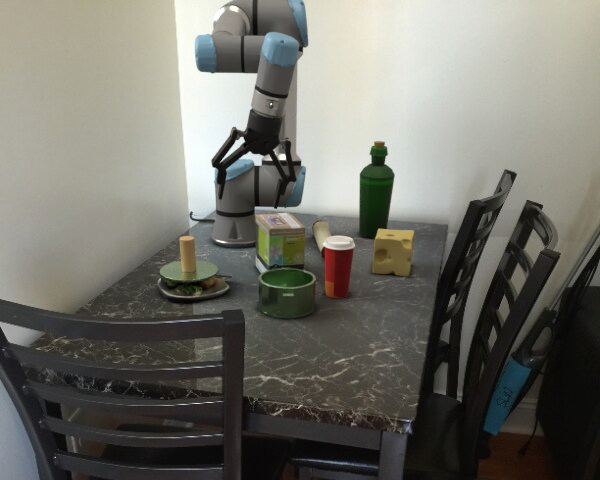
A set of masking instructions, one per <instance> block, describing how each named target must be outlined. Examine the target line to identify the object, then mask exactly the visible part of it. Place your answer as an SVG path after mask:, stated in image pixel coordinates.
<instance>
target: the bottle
mask: <svg viewBox="0 0 600 480" xmlns="http://www.w3.org/2000/svg"><path fill="white" fill-rule="evenodd" d="M373 144H374V145H371V147H370V151H369V156H371V158H370V159H371V163H369V164H367V165H365V166H364V167H363V168H362V170H361V171H360V172H359V202H358V203H359V204H358V205H359V206H358V207H359V208H358V212H359V213H358V216H359V217H358V223H359V224H358V234H359V235H360V236H361V237H364V238H367V239H375V238H376V235H377V231H378V229H388V225H389V217H390V211H391V202H392V196H393V191H394V190H393V189H394V183H395V172H394V169H392V168H391V167H390V166H389V165H388V164H386V158H387V156H388V155H389V151H388V146H386V141H382V140H376V141H374V142H373Z"/></svg>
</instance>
